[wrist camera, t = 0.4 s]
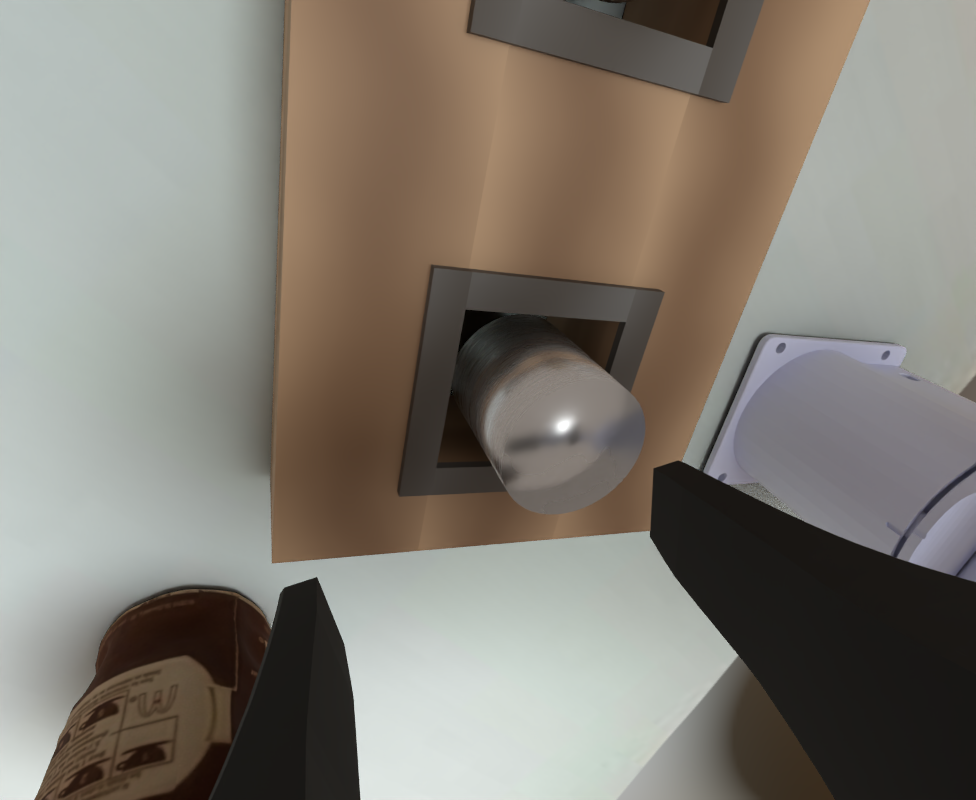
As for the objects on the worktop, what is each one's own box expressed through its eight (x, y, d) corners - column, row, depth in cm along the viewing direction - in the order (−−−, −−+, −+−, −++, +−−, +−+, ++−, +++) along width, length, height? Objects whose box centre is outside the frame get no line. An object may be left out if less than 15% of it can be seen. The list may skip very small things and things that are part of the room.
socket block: (844, -266, 15) (1035, -376, 12) (599, 466, 26) (657, 535, 22) (303, -621, 10) (328, -1035, 6) (270, 477, 21) (271, 570, 17)
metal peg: (583, 318, 18) (665, 383, 14) (552, 427, 20) (619, 510, 16) (463, 309, 16) (521, 378, 13) (442, 427, 18) (487, 519, 15)
